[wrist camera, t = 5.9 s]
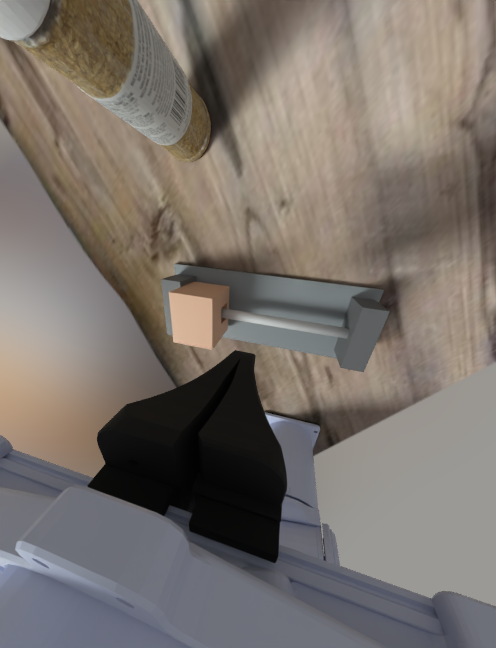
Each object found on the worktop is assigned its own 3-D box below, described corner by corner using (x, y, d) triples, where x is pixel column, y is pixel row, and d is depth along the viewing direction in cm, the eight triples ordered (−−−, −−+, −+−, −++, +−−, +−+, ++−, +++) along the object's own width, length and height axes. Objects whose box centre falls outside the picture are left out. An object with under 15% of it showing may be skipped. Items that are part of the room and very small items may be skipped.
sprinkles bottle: (172, 78, 15) (-379, -664, 3) (222, 112, 15) (-85, -443, 3) (156, 147, 17) (-192, -92, 5) (200, 176, 17) (-29, 16, 5)
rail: (382, 289, 17) (402, 300, 14) (354, 359, 21) (365, 381, 17) (176, 263, 21) (154, 267, 17) (181, 327, 24) (164, 341, 21)
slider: (229, 286, 20) (212, 298, 15) (227, 328, 22) (212, 349, 17) (194, 281, 20) (168, 292, 16) (195, 323, 22) (173, 342, 18)
